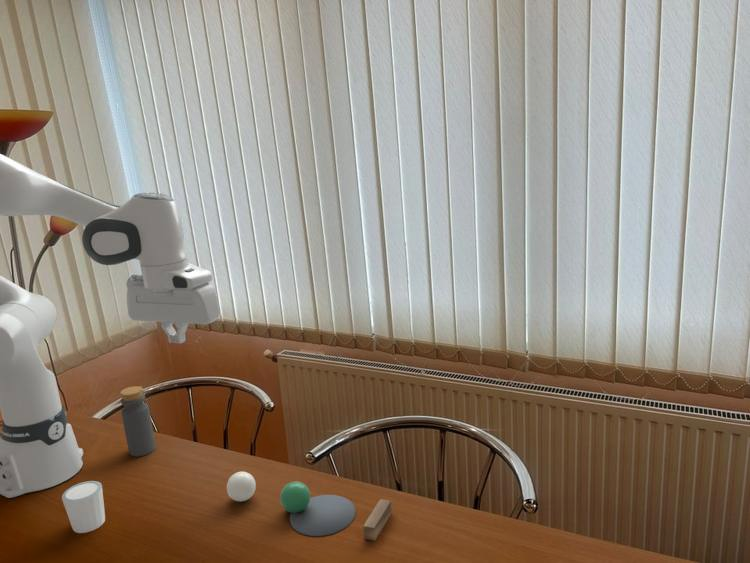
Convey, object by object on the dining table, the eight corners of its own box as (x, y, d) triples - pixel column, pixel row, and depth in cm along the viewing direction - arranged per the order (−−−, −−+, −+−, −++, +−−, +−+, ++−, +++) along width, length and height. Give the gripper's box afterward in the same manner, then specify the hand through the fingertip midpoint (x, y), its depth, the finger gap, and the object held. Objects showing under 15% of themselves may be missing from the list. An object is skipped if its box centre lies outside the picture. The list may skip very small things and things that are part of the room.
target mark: (277, 529, 108) (277, 528, 108) (309, 491, 119) (309, 490, 119) (338, 541, 104) (338, 540, 104) (365, 501, 115) (365, 500, 114)
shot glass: (93, 536, 111) (86, 502, 109) (60, 534, 112) (53, 500, 110) (116, 513, 117) (109, 481, 115) (85, 511, 119) (78, 479, 117)
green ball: (285, 486, 109) (306, 509, 109) (300, 470, 114) (320, 492, 114) (269, 501, 112) (289, 524, 111) (284, 485, 117) (304, 506, 116)
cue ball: (239, 478, 114) (250, 504, 114) (254, 464, 119) (265, 489, 119) (216, 483, 116) (227, 509, 116) (232, 469, 121) (242, 493, 122)
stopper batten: (364, 538, 104) (363, 525, 103) (381, 511, 111) (380, 499, 111) (375, 540, 103) (374, 528, 103) (391, 512, 110) (390, 500, 110)
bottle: (145, 457, 137) (133, 396, 133) (123, 455, 139) (111, 395, 135) (161, 444, 142) (150, 385, 139) (140, 442, 144) (129, 384, 141)
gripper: (113, 278, 121) (126, 344, 124) (198, 280, 113) (208, 350, 116) (136, 271, 126) (148, 334, 130) (218, 272, 118) (228, 339, 122)
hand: (177, 342), depth 123 cm, fingers closed
